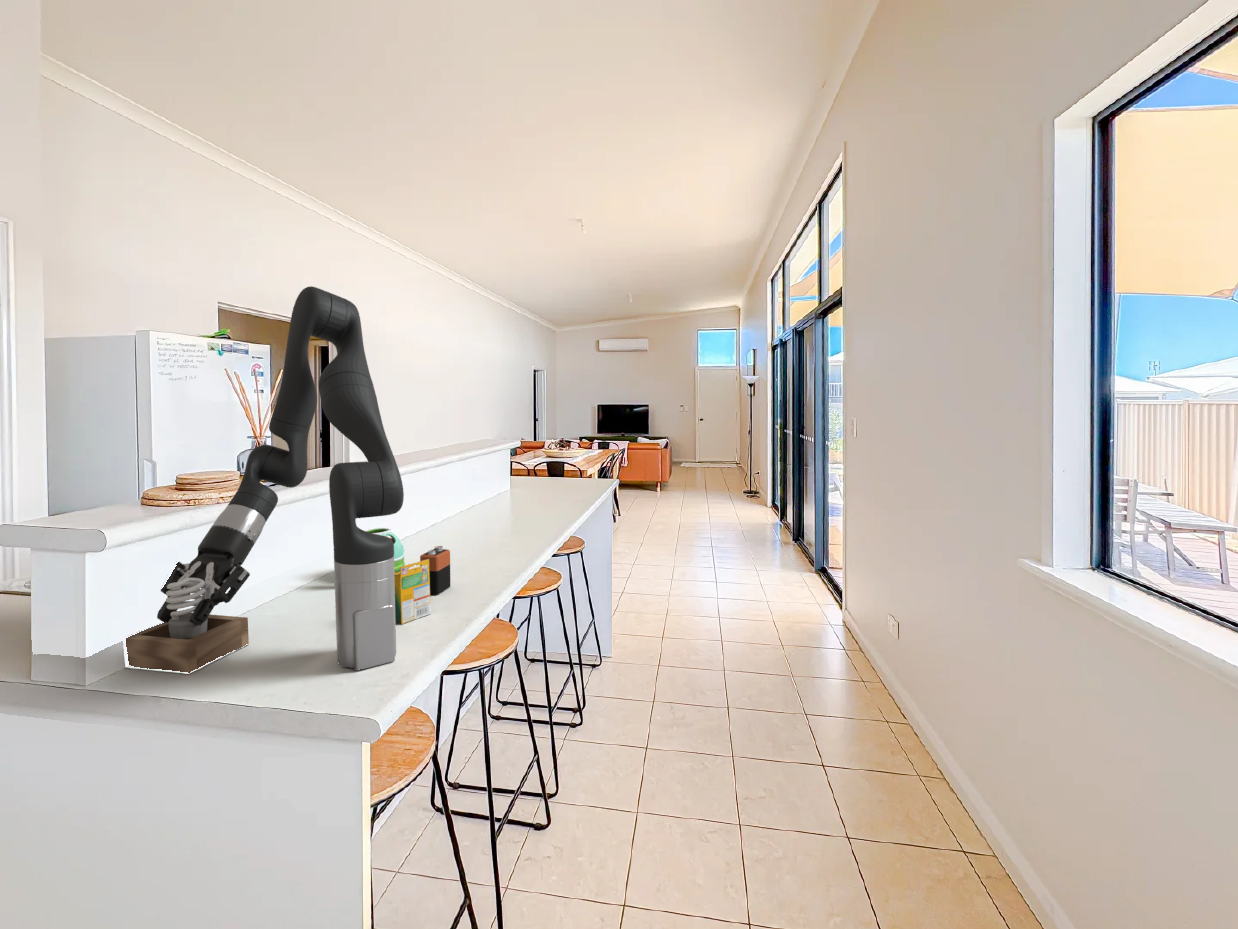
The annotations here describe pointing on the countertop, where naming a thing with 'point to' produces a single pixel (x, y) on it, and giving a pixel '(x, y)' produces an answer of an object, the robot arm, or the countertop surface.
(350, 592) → the robot arm
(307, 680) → the countertop surface
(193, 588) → the light bulb
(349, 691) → the countertop surface
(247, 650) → the countertop surface
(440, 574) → the battery
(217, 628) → the square brown bulb holder
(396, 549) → the turtle holder
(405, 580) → the crayon box
